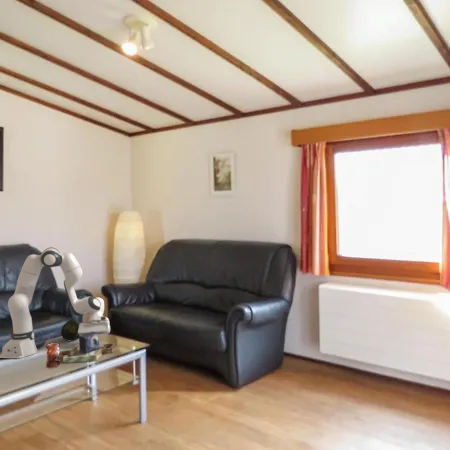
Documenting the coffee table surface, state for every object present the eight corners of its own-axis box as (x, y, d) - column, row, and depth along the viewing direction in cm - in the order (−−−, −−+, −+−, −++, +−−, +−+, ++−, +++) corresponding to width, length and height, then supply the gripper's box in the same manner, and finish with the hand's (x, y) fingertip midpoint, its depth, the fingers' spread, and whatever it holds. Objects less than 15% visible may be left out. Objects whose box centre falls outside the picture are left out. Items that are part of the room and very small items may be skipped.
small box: (86, 354, 276) (84, 337, 276) (79, 352, 280) (77, 336, 280) (100, 348, 285) (98, 332, 284) (93, 347, 289) (92, 331, 288)
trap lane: (52, 363, 263) (52, 358, 263) (67, 349, 289) (67, 344, 288) (107, 359, 263) (107, 354, 263) (117, 345, 289) (117, 340, 288)
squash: (55, 336, 301) (69, 317, 303) (58, 331, 316) (72, 313, 317) (73, 348, 303) (87, 329, 305) (75, 342, 318) (89, 324, 320)
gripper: (78, 319, 297) (74, 339, 287) (109, 317, 297) (107, 336, 287) (81, 324, 301) (77, 343, 292) (111, 322, 301) (109, 341, 292)
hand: (92, 340), depth 290 cm, fingers closed
